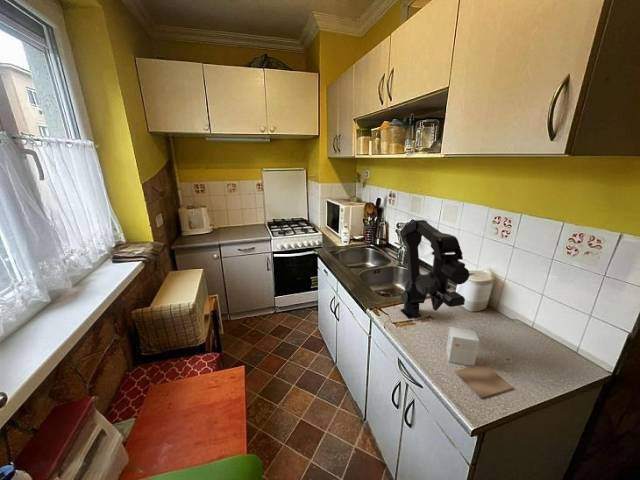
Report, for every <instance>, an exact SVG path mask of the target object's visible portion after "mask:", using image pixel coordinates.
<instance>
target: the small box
mask: <svg viewBox="0 0 640 480" xmlns="http://www.w3.org/2000/svg"><path fill="white" fill-rule="evenodd" d="M479 346H480V339H479V337H478V335H477V333H476V330H475V329H468V328H461V327H454V326H453V327H452V326H449V329H448V336H447V342H446V349H445V354H446V357H447V361H448V363H453V364H457V365H458V364H459V365H464V366H468V367H471V366H475V365H476V364H475V363H476V359H477V354H478V350H479Z"/></svg>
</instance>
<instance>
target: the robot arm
mask: <svg viewBox="0 0 640 480" xmlns="http://www.w3.org/2000/svg"><path fill="white" fill-rule="evenodd" d="M399 235H400V237H401V242H402V244H404V246H405V249H406V265H407V279H408V280H407V282H406V284H405V285H404V291H403V292H402V293H401V294H400V300H401V302H402V303H403V308H402V309H401V308H400V312H401V313H402V314H403V316H405V317H406V318H408V319H412V318H413V319H414V318H418V317H422V314H421V313H420V304H424V303H425V300H426V299H427V296H428V295H429V298H430V302H431V305H432V309H433V310H434V311H438V310H439V309H440V307H441V306H442V305H443V304H444V305H446V306H448V307H450V308H453V307H454V308H455V307H458V306H464V305H465V302H466V298H465V297H464V296H463V295H462V294H460V293H458V292H457V291H452V292H451V291H450V290H451V287H452V285H450V284H449V283H450V281H451V282H452V283H454V284H455V285H463V284H465V283H466V282H467V281H468V280H469V278H470V275H471V274H470V271H469V269H468V268H466V263H465V262H463V261H462V260H463V257H464V256H463V252H462V248H461V246H460V243H459V239H458V238H457V237H456V236H455V235H453V234H448V233H444V232H441V231H440V230H439V229H437V228H435V227H434V226H432V224H430V223H429V222H428V221H427V220H425V219H415V220H413V221H412V222H411V223H409V224H406V225H404V226H403V227H402V229H400V233H399ZM422 238H425V239H426V240H427V241H429V243H430V248H431V250H432V252H431V255H432V256H433V262H432V263H433V264H432V269H431V271H429V272H428V273H427V274H421V272H420V270H421V269H420V256H419V246H420V244H421V242H422V240H423V239H422ZM460 260H461V261H460Z"/></svg>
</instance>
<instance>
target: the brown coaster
mask: <svg viewBox="0 0 640 480" xmlns="http://www.w3.org/2000/svg"><path fill="white" fill-rule="evenodd" d="M454 373H455V374H456V375H457V376H458V377H459V378H460V379H461V380H462V381H463V383H465V384H466V385H467V386H468V387H469V389H471V390H472V392H474V393H475V394H476V396H477V397H478V398H479V399H481V400H483V399H487V398H489V397H492V396H495V395H499V394H501V393H505V392H507V391H511V390H513V389H514V387H513V386H512V384H510V383H509V382H507V381H506V380H505V379H504V378H503V377H502V376H500V374H499V373H497V372H496V371H495V370H494V369H492V367H490V366H489V365H488V364H486V363H485V362H483V363H479V364H475V365H474V366H467V367H465V368H462V369H458V370H457V369H456V370H455V371H454Z"/></svg>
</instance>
